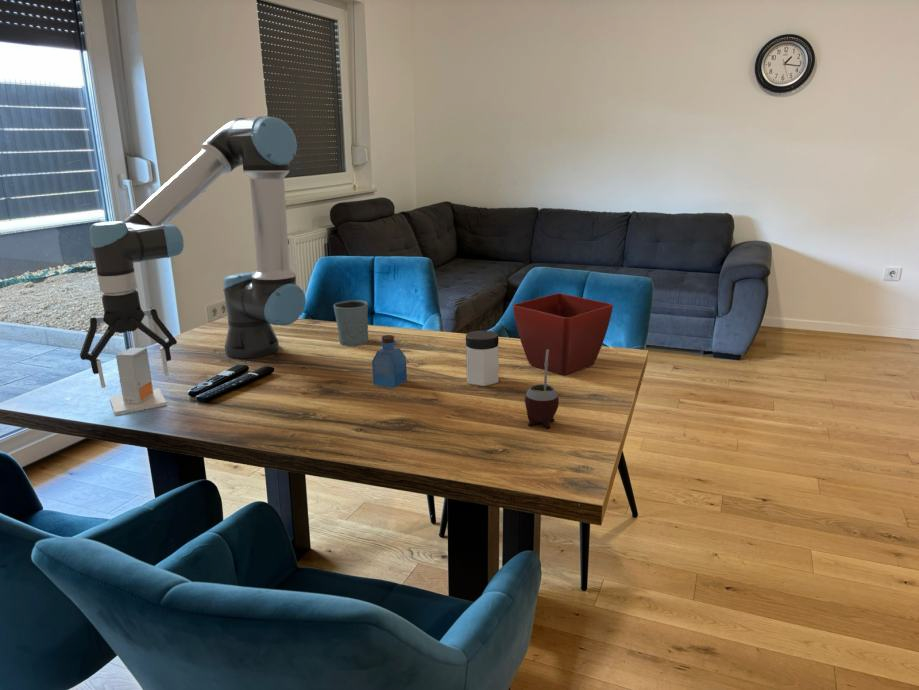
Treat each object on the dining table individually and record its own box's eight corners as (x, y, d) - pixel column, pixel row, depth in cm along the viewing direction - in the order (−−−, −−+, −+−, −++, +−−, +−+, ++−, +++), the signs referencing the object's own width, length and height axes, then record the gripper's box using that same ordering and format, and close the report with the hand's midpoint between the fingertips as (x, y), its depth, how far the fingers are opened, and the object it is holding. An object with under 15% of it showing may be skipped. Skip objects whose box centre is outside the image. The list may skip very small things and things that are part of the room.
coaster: (159, 391, 166) (159, 388, 166) (166, 405, 157) (166, 401, 157) (110, 400, 161) (109, 397, 160) (114, 415, 152) (114, 412, 151)
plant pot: (565, 382, 167) (567, 317, 162) (510, 364, 181) (510, 304, 176) (611, 365, 179) (615, 304, 174) (557, 350, 193) (558, 292, 188)
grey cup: (367, 347, 199) (364, 307, 195) (333, 347, 199) (330, 308, 195) (372, 337, 208) (369, 299, 205) (339, 337, 208) (336, 300, 205)
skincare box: (140, 404, 156) (132, 355, 152) (123, 403, 156) (114, 355, 153) (155, 394, 161) (147, 347, 158) (138, 394, 162) (130, 347, 158)
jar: (500, 386, 165) (500, 339, 162) (467, 387, 165) (466, 340, 162) (497, 374, 174) (497, 329, 170) (465, 374, 174) (465, 330, 170)
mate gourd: (535, 432, 139) (536, 364, 135) (517, 419, 146) (517, 353, 142) (565, 426, 142) (568, 359, 137) (546, 413, 149) (548, 348, 144)
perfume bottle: (406, 379, 171) (405, 334, 167) (394, 387, 166) (392, 341, 162) (386, 376, 173) (383, 332, 170) (373, 384, 168) (370, 338, 165)
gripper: (175, 281, 160) (188, 365, 167) (55, 296, 148) (74, 386, 154) (180, 287, 154) (194, 373, 160) (56, 303, 142) (76, 396, 148)
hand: (135, 380), depth 157 cm, fingers open, 13 cm apart
